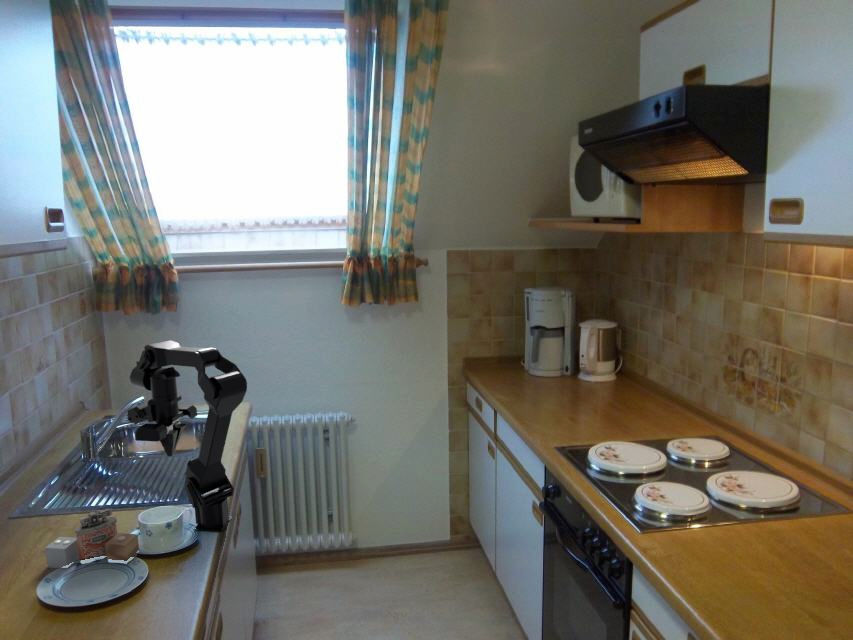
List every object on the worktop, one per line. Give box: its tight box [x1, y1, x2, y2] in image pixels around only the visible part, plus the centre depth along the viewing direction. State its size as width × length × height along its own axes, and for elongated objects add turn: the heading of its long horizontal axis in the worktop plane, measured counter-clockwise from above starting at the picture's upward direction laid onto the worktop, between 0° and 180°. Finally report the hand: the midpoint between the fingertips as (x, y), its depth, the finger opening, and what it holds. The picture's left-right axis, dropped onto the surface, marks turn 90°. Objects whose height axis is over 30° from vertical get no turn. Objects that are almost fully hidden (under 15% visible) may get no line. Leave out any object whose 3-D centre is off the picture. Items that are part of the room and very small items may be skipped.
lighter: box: [74, 508, 118, 562], centre depth 143 cm, size 8×3×10 cm, turn 129°
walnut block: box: [105, 532, 140, 561], centre depth 143 cm, size 4×4×5 cm
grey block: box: [44, 536, 79, 569], centre depth 142 cm, size 4×4×5 cm
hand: (170, 455), depth 164 cm, fingers closed
